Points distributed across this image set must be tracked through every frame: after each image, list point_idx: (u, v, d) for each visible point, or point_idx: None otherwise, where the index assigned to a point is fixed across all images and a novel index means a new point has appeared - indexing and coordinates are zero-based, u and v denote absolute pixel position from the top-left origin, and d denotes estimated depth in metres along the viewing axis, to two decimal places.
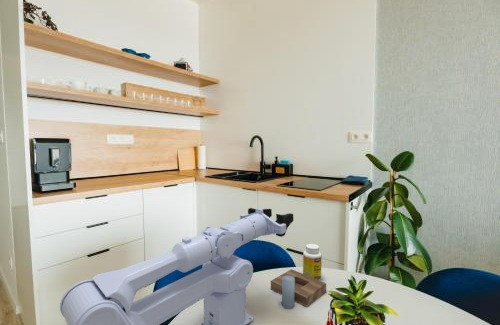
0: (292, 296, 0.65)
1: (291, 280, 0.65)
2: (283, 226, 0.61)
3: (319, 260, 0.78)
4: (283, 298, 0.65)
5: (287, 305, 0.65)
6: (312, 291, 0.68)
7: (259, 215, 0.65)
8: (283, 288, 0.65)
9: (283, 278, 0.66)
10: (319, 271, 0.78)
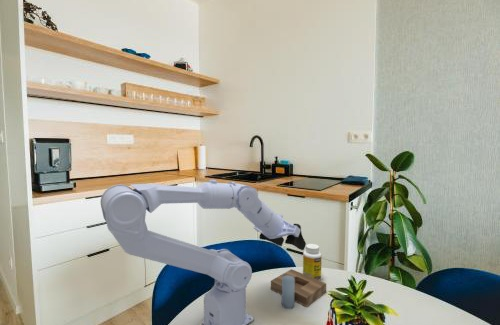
0: (292, 296, 0.65)
1: (291, 280, 0.65)
2: (297, 228, 0.62)
3: (319, 260, 0.78)
4: (283, 298, 0.65)
5: (287, 305, 0.65)
6: (312, 291, 0.68)
7: (278, 216, 0.67)
8: (283, 288, 0.65)
9: (283, 278, 0.66)
10: (319, 271, 0.78)
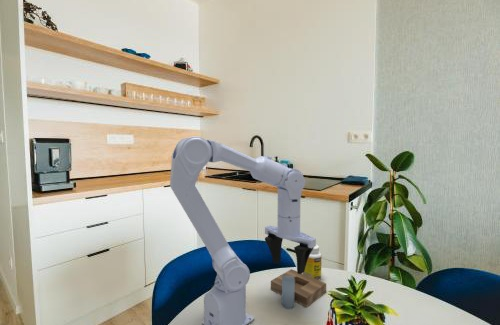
0: (292, 296, 0.65)
1: (291, 280, 0.65)
2: (315, 241, 0.61)
3: (319, 260, 0.78)
4: (283, 298, 0.65)
5: (287, 305, 0.65)
6: (312, 291, 0.68)
7: None
8: (283, 288, 0.65)
9: (283, 278, 0.66)
10: (319, 271, 0.78)
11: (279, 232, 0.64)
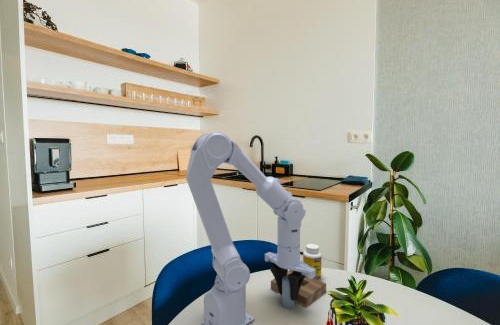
0: None
1: None
2: (314, 272, 0.61)
3: (319, 260, 0.78)
4: (283, 298, 0.65)
5: (287, 305, 0.65)
6: (312, 291, 0.68)
7: None
8: (283, 288, 0.65)
9: (283, 278, 0.66)
10: (319, 271, 0.78)
11: (279, 261, 0.64)
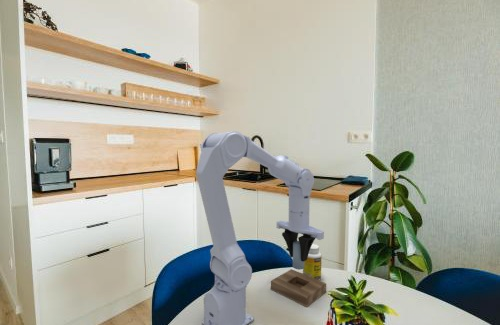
0: None
1: None
2: (323, 234, 0.67)
3: (319, 260, 0.78)
4: (294, 260, 0.72)
5: (298, 266, 0.71)
6: (312, 291, 0.68)
7: None
8: (294, 251, 0.71)
9: (294, 242, 0.72)
10: (319, 271, 0.78)
11: (290, 226, 0.71)
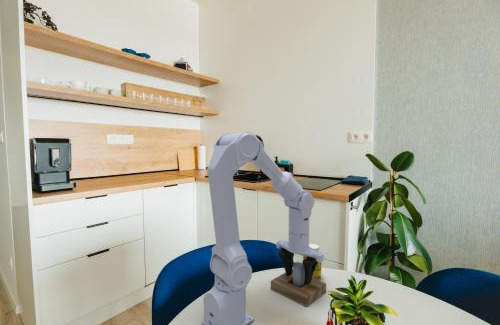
0: (302, 280, 0.72)
1: (301, 266, 0.72)
2: (323, 256, 0.68)
3: None
4: (294, 282, 0.72)
5: None
6: (312, 291, 0.68)
7: None
8: (294, 273, 0.72)
9: (294, 264, 0.73)
10: (319, 271, 0.78)
11: (290, 247, 0.71)
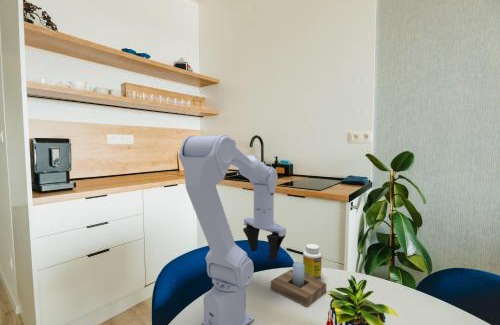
0: (302, 280, 0.72)
1: (301, 266, 0.72)
2: (285, 230, 0.69)
3: (319, 260, 0.78)
4: (294, 282, 0.72)
5: None
6: (312, 291, 0.68)
7: None
8: (294, 273, 0.72)
9: (294, 264, 0.73)
10: (319, 271, 0.78)
11: (254, 223, 0.72)
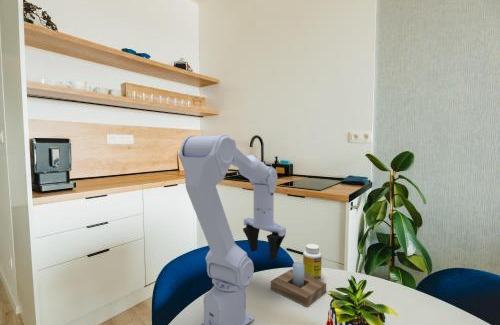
0: (302, 280, 0.72)
1: (301, 266, 0.72)
2: (285, 230, 0.69)
3: (319, 260, 0.78)
4: (294, 282, 0.72)
5: None
6: (312, 291, 0.68)
7: None
8: (294, 273, 0.72)
9: (294, 264, 0.73)
10: (319, 271, 0.78)
11: (254, 223, 0.72)
